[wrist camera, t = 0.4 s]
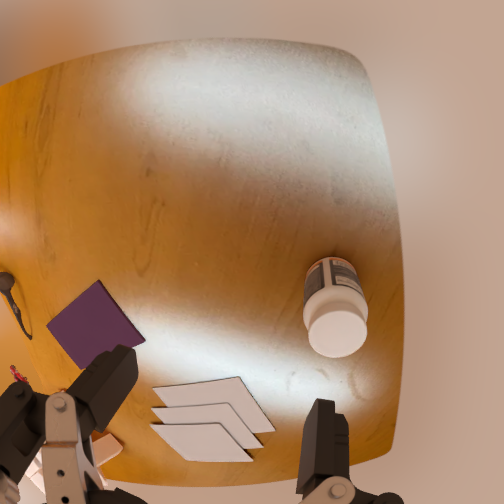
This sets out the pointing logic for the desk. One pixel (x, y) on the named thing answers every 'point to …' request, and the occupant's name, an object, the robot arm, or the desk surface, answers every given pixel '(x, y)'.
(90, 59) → the desk surface
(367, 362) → the desk surface
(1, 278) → the sunglasses
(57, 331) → the cloth
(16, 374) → the toy car
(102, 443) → the pile of blocks
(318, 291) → the pill bottle
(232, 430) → the paper stack
